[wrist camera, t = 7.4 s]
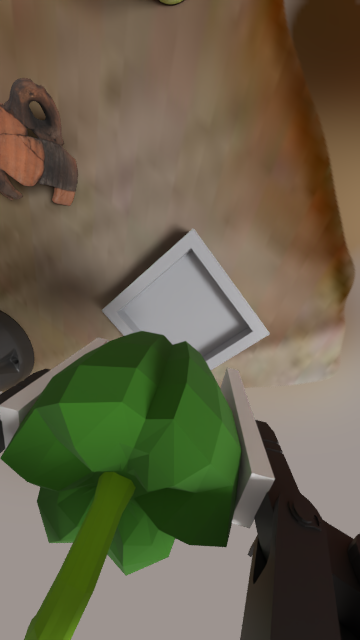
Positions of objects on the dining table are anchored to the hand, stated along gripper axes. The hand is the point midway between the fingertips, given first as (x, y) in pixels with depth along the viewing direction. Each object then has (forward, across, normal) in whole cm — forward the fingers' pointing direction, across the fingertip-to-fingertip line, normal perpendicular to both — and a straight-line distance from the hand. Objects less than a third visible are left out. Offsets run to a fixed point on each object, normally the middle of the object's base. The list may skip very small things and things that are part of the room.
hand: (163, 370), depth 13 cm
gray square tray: (+15, 0, 0) cm, 15 cm away
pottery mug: (+15, +21, -16) cm, 31 cm away
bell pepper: (+1, 0, 0) cm, 1 cm away
